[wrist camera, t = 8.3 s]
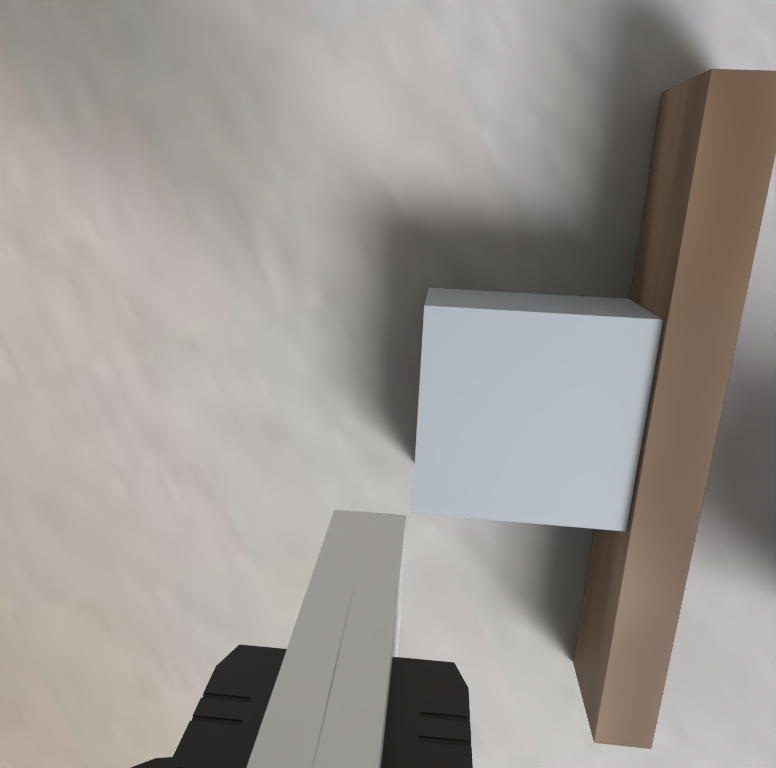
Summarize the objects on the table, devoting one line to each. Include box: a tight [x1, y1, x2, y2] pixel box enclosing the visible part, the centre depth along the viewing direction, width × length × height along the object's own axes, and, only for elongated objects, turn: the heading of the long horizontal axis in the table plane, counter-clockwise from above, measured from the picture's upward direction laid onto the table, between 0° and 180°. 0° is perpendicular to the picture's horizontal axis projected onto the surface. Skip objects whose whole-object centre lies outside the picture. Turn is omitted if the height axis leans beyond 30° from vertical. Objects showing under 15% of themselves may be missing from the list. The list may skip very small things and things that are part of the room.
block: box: [412, 287, 663, 531], centre depth 22 cm, size 7×7×4 cm
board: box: [573, 69, 776, 749], centre depth 21 cm, size 2×22×4 cm, turn 178°
